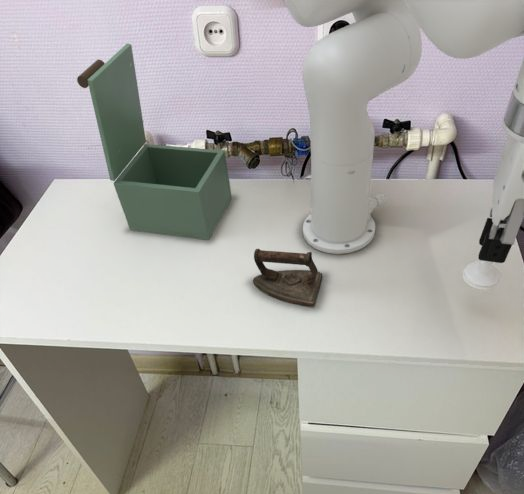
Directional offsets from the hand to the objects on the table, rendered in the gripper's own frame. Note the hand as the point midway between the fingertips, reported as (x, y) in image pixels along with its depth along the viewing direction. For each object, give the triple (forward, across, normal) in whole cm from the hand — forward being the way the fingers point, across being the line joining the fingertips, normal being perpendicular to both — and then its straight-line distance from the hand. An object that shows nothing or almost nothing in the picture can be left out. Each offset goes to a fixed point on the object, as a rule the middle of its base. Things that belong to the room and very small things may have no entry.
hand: (491, 251), depth 64 cm
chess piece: (+5, 0, 0) cm, 5 cm away
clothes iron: (+13, 0, +28) cm, 31 cm away
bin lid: (-5, +15, +59) cm, 62 cm away
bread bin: (+13, +15, +52) cm, 56 cm away
